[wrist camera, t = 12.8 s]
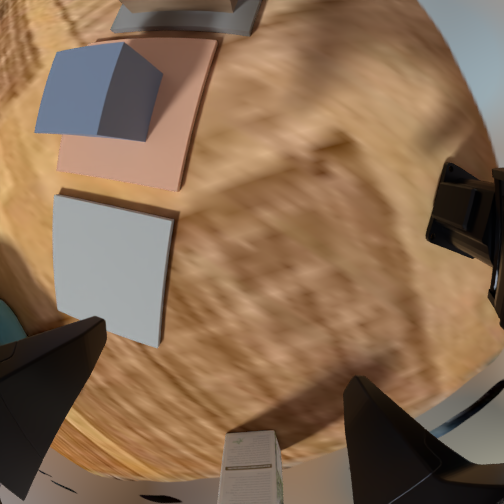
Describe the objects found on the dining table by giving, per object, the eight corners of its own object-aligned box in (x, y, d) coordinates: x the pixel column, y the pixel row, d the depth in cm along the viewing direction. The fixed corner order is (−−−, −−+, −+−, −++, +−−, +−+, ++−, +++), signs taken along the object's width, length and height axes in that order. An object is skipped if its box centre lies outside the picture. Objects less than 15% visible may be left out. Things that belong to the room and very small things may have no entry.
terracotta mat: (217, 43, 14) (216, 40, 14) (179, 191, 18) (176, 192, 17) (92, 45, 14) (88, 43, 13) (60, 170, 17) (56, 170, 17)
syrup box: (224, 432, 25) (208, 544, 11) (276, 428, 25) (278, 546, 11) (236, 454, 27) (226, 551, 13) (283, 451, 26) (286, 551, 12)
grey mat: (174, 219, 18) (171, 221, 18) (159, 344, 22) (157, 348, 21) (58, 194, 18) (54, 195, 17) (61, 307, 21) (57, 309, 21)
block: (163, 74, 15) (124, 41, 9) (145, 142, 16) (96, 134, 10) (105, 74, 14) (56, 52, 9) (89, 136, 16) (34, 132, 10)
